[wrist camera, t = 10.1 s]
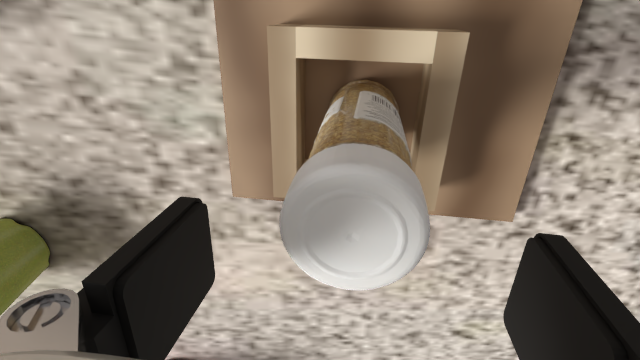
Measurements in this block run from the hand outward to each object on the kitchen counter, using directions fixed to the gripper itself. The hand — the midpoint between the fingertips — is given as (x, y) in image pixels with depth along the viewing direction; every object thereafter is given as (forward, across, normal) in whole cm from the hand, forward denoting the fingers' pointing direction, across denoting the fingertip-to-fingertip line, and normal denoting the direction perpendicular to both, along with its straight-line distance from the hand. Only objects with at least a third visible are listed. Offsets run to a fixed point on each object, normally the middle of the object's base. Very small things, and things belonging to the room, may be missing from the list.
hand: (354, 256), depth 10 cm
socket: (+14, +1, -1) cm, 14 cm away
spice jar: (+14, 0, -1) cm, 14 cm away
